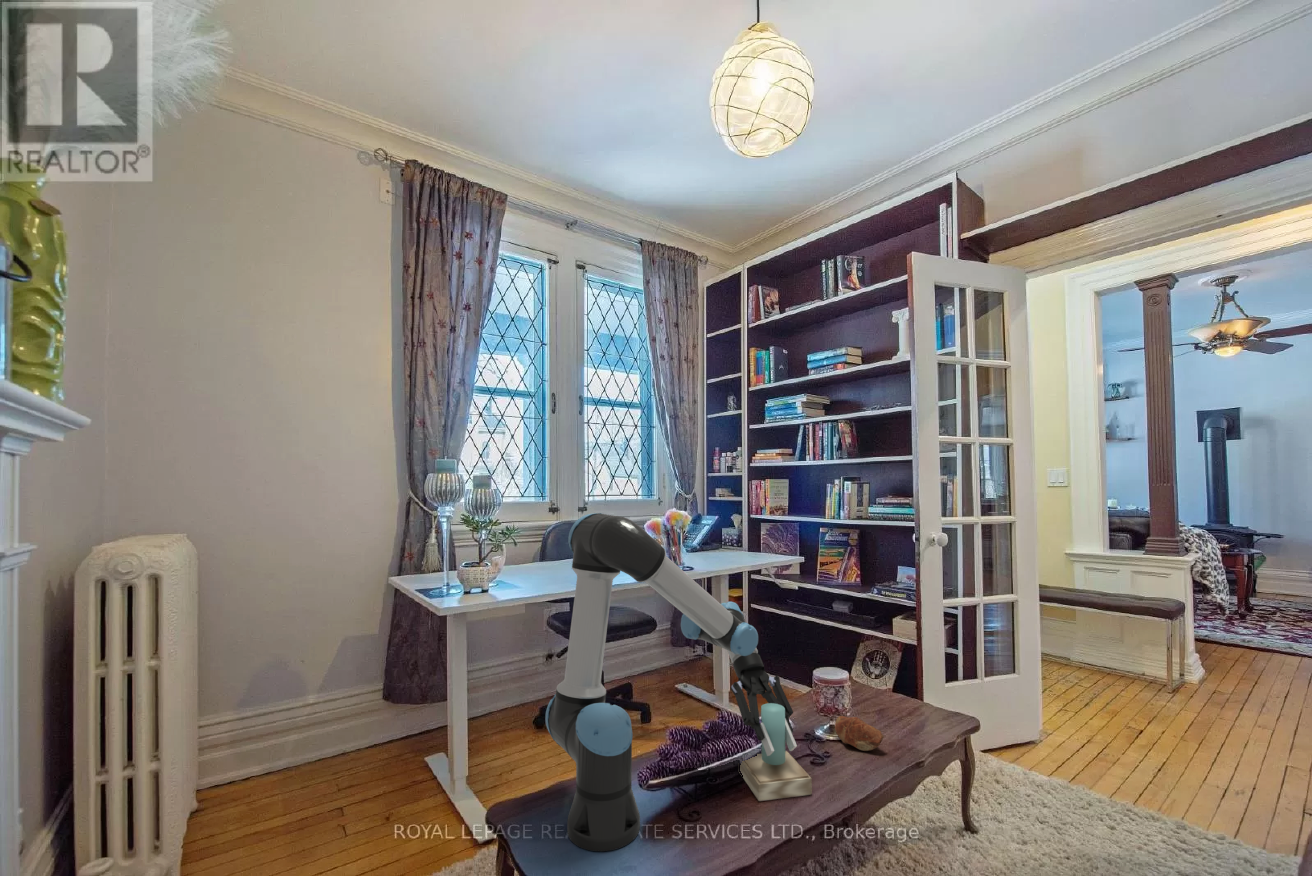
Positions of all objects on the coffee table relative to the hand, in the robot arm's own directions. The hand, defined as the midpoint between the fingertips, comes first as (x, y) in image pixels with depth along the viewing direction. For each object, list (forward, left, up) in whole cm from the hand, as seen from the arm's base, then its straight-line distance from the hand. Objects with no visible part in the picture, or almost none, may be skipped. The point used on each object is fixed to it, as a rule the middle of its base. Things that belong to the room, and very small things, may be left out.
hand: (782, 750), depth 133 cm
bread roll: (+29, +17, -9) cm, 35 cm away
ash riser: (-1, +4, -9) cm, 10 cm away
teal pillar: (-1, +4, -4) cm, 5 cm away
